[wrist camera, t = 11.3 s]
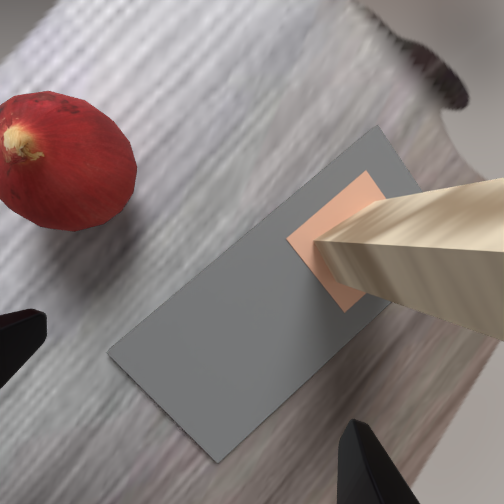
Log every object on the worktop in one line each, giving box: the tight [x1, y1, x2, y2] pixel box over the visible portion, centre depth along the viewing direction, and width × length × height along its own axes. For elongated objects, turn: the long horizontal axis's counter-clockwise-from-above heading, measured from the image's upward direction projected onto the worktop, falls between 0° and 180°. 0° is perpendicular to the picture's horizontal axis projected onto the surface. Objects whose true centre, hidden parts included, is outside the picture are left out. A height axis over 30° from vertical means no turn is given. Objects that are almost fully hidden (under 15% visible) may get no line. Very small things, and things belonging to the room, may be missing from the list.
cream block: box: [313, 178, 504, 341], centre depth 13 cm, size 5×3×13 cm, turn 121°
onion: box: [0, 91, 137, 231], centre depth 13 cm, size 6×6×8 cm
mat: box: [107, 125, 423, 463], centre depth 19 cm, size 22×10×1 cm, turn 130°
